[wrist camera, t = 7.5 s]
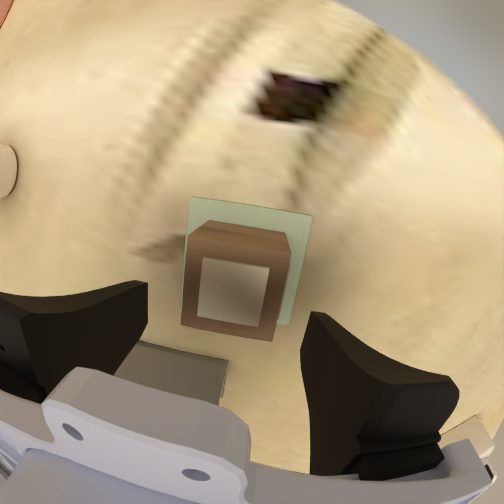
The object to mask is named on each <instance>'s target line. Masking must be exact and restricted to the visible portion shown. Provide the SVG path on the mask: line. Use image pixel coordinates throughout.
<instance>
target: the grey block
mask: <svg viewBox="0 0 504 504" xmlns="http://www.w3.org/2000/svg"><path fill="white" fill-rule="evenodd" d="M227 362H228V361H227V360H222V359H216V358H211V357H206V356H201V355H196V354H192V353H187V352H183V351H178V350H174V349H170V348H166V347H162V346H158V345H154V344H150V343H146V342H143V341H139V340H138V342H137V343H136V345H135V346H134V347H133V349H132V350H131V351H130V353H129V354H128V356H127V357H126V358H125V360H124V361H123V362H122V364H121V365H120V367H119V368H118V369H117V371H116V372H115V374H114V376H115V377H118V378H121V379H124V380H127V381H130V382H133V383H137V384H140V385H143V386H147V387H150V388H153V389H157V390H161V391H164V392H168V393H172V394H176V395H180V396H185V397H189V398H194V399H198V400H203V401H206V402H209V403H212V404H214V405H217V406H219V402H220V398H222V396H223V390H224V383H225V376H226V369H227Z"/></svg>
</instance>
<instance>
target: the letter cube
mask: <svg viewBox="0 0 504 504" xmlns="http://www.w3.org/2000/svg"><path fill="white" fill-rule="evenodd" d="M291 254H292V253H291V249H290V246H289V243H288V240H287V237H286V234H285V232H279V231H274V230H268V229H262V228H256V227H250V226H244V225H238V224H232V223H226V222H219V221H213V220H208V221H207V222H205V223H204V224H203V225H201V226H200V227H199V228H197V229H196V230H195V231H193V232H192V233H190V234H189V235H188V239H187V248H186V259H185V271H184V283H183V298H182V314H181V325H183V326H188V327H192V328H197V329H202V330H207V331H212V332H217V333H223V334H228V335H234V336H239V337H245V338H251V339H258V340H264V341H271V342H272V340H273V335H274V331H275V327H276V323H277V320H279V316H280V312H281V307H282V303H283V298H284V294H285V289H286V285H287V280H288V275H289V271H290V258H291Z"/></svg>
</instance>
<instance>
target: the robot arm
mask: <svg viewBox="0 0 504 504" xmlns="http://www.w3.org/2000/svg"><path fill="white" fill-rule="evenodd" d="M147 323H148V283H146V282H142V281H137V280H133V281H127V282H123V283H119V284H116V285H112V286H108V287H105V288H101V289H97V290H93V291H88V292H84V293H79V294H73V295H65V296H49V297H33V296H21V295H14V294H8V293H2V292H0V468H1V469H2V470H3V471H4V472H5V473H7V475H9V478H8V479H7V478H5V477H4V476H3V475H2V473H1V472H0V504H469V503H470V502H471V501H473V500H474V499H475V498H477V497H478V496H479V495H480V494H481V493H483V492H484V491H485V490H486V489H487V488H489V486H491V485H492V483H493V482H492V480H491V478H490V476H489V474H488V472H487V470H486V468H485V466H484V465H483V463H482V461H481V459H480V457H479V456H478V454H477V452H476V450H475V449H474V447H473V445H472V443H471V442H470V440H469V439H463V440H460V441H457V442H454V443H451V444H448V445H446V446H444V447H443V448H441V449H440V447H439V445H438V443H437V442H440V440H441V435H440V434H439V432H438V431H439V430H440V429H441V427H442V426H443V425H444V423H445V422H446V421H447V419H448V418H449V417H450V415H451V414H452V412H453V411H454V409H455V407H456V405H457V402H458V399H459V389H458V387H457V386H456V385H455V383H454V382H453V381H452V379H451V378H450V377H449V376H446V375H441V374H436V373H431V372H427V371H423V370H420V369H417V368H413V367H410V366H408V365H405V364H402V363H400V362H398V361H395V360H393V359H391V358H389V357H387V356H385V355H383V354H381V353H379V352H378V351H376V350H374V349H372V348H371V347H369V346H368V345H366V344H365V343H363V342H362V341H360V340H359V339H358V338H356V337H355V336H354V335H352V334H351V333H350V332H349V331H347V330H346V329H345V328H344V327H342V326H341V325H340V324H339V323H338V322H336V321H335V320H334V319H333V318H331V317H330V316H329V315H327V314H326V313H322V312H314V311H311V313H310V317H309V321H308V324H307V328H306V331H305V335H304V338H303V342H302V345H301V349H300V362H301V372H302V377H303V382H304V387H305V392H306V398H307V403H308V409H309V418H310V474H305V473H299V472H294V471H289V470H285V469H280V468H276V467H272V466H268V465H264V464H260V463H256V462H253V461H250V450H251V436H250V431H249V426H248V425H247V424H246V423H245V422H244V421H243V420H241V419H240V418H239V417H238V416H237V415H235V414H234V413H233V412H232V411H231V410H229V409H226V408H223V407H220V406H217V405H214V404H212V403H209V402H206V401H203V400H198V399H194V398H189V397H185V396H180V395H176V394H172V393H168V392H164V391H161V390H157V389H153V388H150V387H147V386H143V385H140V384H137V383H133V382H130V381H127V380H124V379H121V378H118V377H115V376H114V374H115V372H116V371H117V369H118V368H119V367H120V365H121V364H122V362H123V361H124V360H125V358H126V357H127V356H128V354H129V353H130V351H131V350H132V349H133V347H134V346H135V345H136V343H137V342H138V340H139V339H140V337H141V335H142V333H143V331H144V329H145V327H146V325H147Z"/></svg>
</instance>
